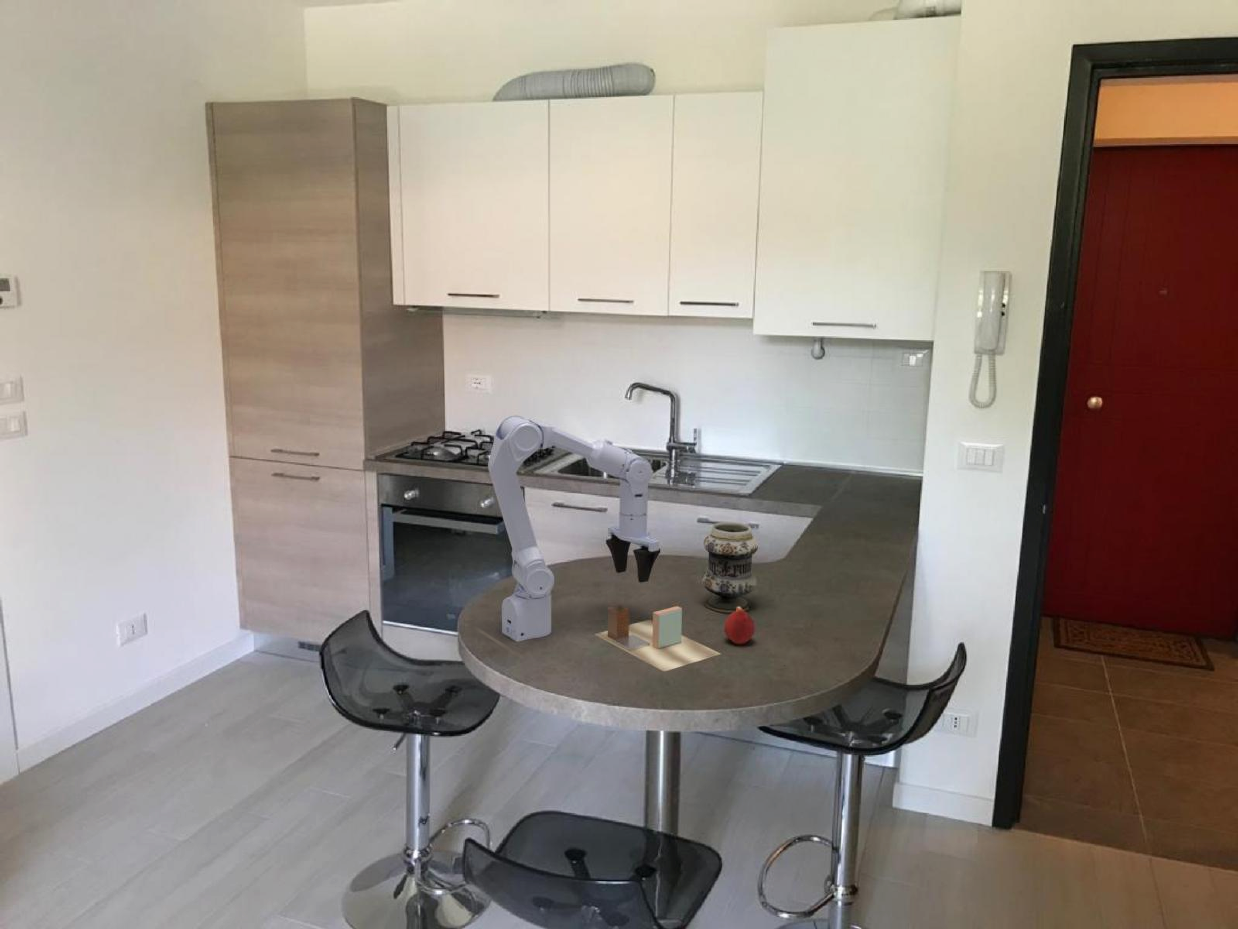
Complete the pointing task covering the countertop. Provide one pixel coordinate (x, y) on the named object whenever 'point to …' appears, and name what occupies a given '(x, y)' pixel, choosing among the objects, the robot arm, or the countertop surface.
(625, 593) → the countertop surface
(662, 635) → the tile
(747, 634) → the onion
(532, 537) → the robot arm
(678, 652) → the board
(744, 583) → the apothecary jar
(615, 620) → the bookend
